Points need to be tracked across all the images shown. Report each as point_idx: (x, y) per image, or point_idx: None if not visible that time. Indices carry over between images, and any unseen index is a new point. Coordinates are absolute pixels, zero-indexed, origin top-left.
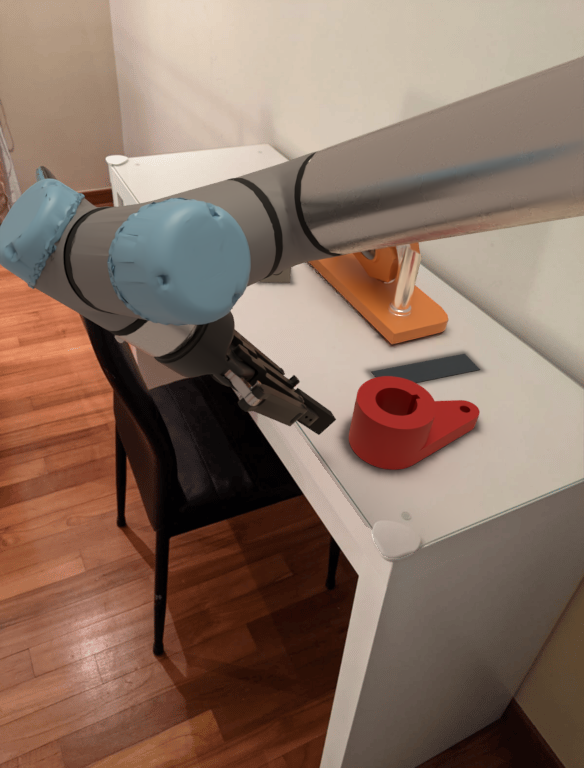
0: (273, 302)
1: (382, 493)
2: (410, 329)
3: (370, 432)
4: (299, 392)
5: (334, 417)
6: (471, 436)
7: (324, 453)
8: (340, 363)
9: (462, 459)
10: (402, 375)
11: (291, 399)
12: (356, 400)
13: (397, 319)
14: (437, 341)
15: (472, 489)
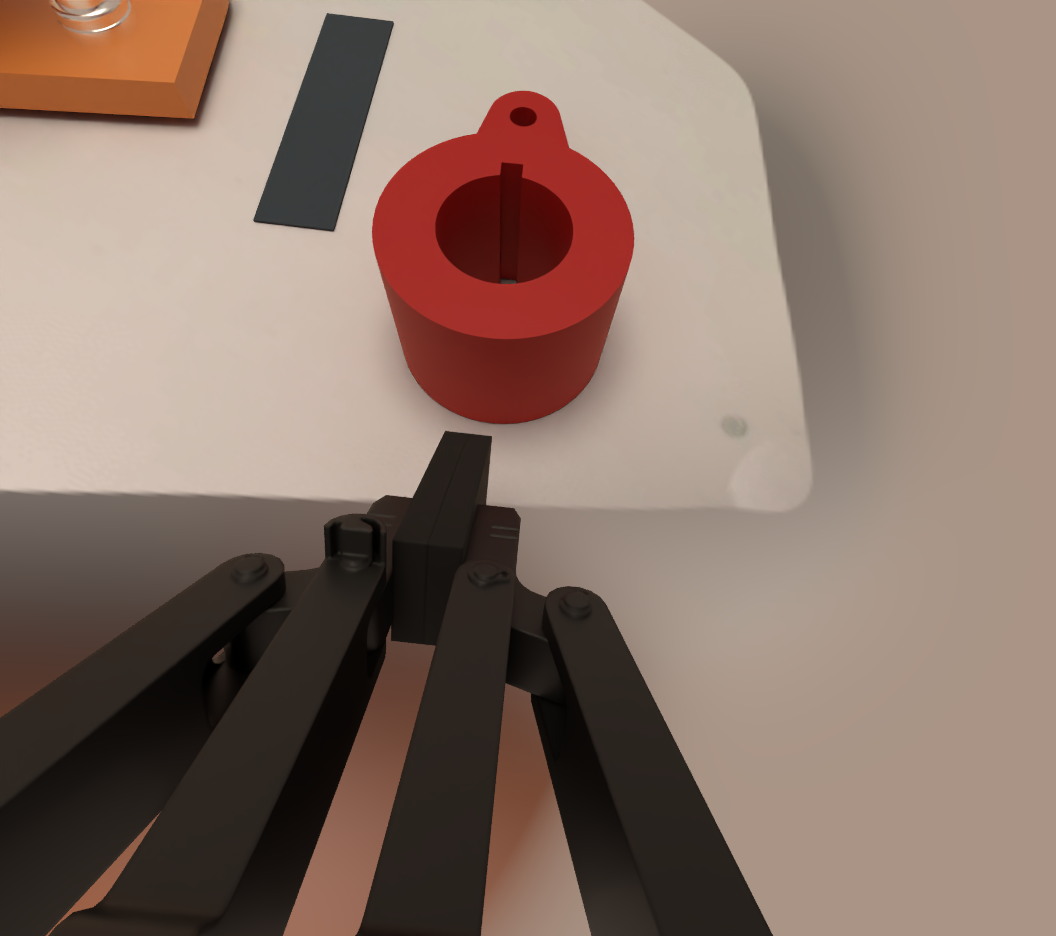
0: None
1: (653, 437)
2: (185, 41)
3: (547, 362)
4: (425, 548)
5: (482, 437)
6: None
7: None
8: (171, 270)
9: None
10: (313, 166)
11: (600, 699)
12: (437, 327)
13: (124, 41)
14: (250, 32)
15: (711, 256)
